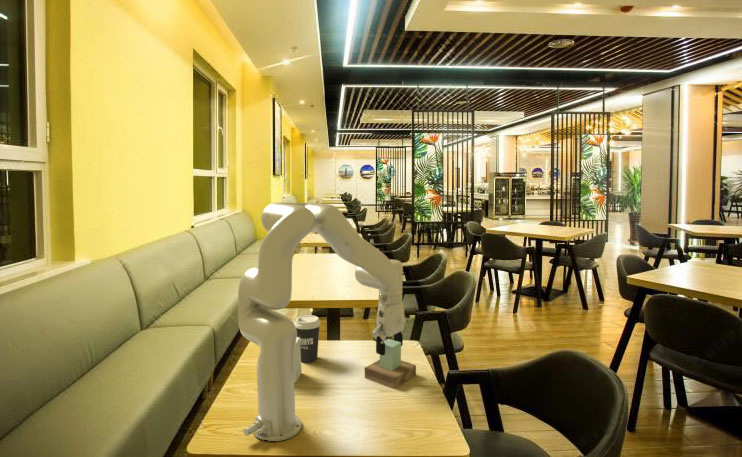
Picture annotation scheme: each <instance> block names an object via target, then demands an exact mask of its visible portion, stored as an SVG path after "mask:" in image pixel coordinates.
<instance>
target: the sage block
mask: <svg viewBox="0 0 742 457" xmlns="http://www.w3.org/2000/svg"><path fill="white" fill-rule="evenodd" d="M384 343H385V355H380V354H379V360H380V367H382V368H385V369H388V370H391V371H393V370H395V369H396V368H398V367H399V366H401V361H402V346H401V342H398V341H394V339H391V338H387V339H385V341H384Z"/></svg>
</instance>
